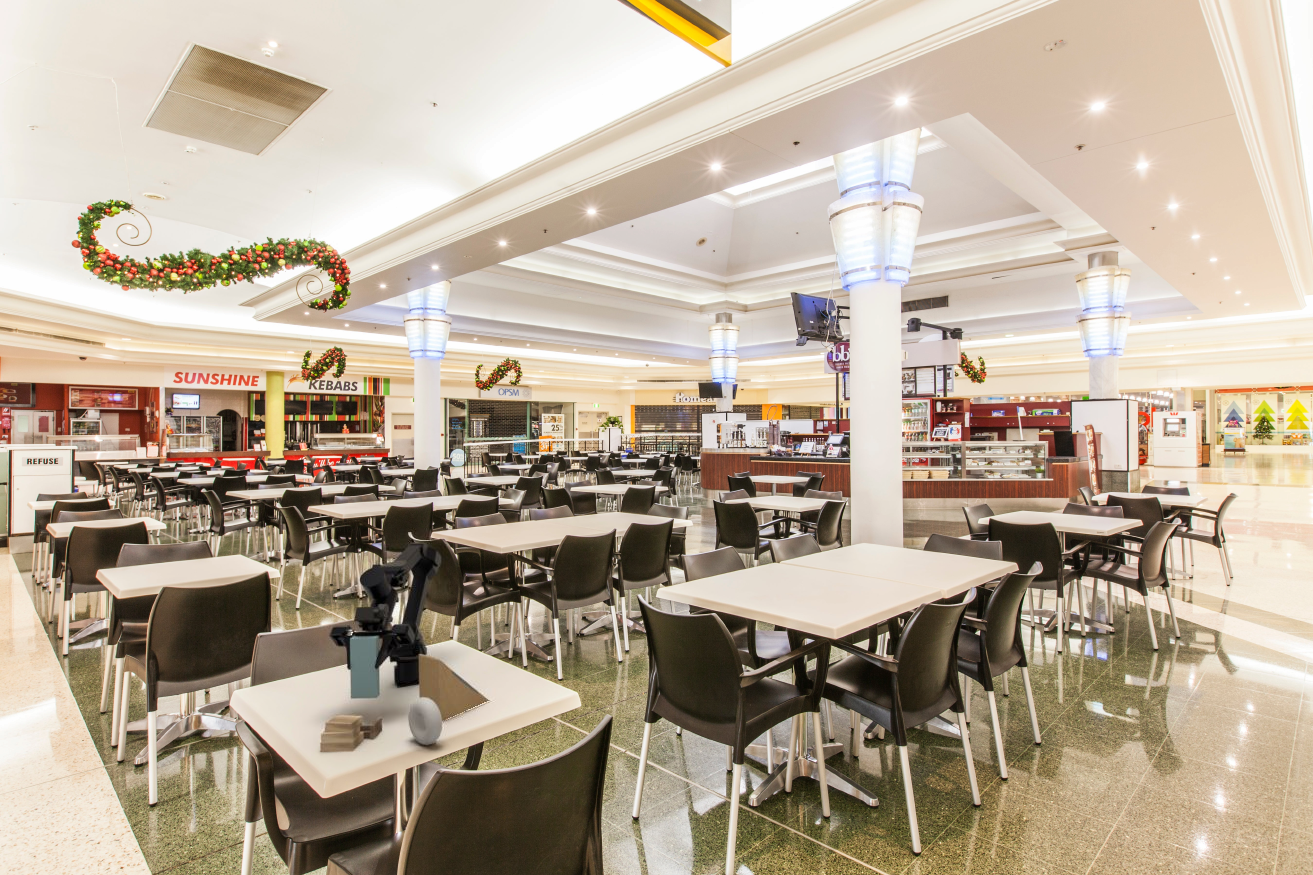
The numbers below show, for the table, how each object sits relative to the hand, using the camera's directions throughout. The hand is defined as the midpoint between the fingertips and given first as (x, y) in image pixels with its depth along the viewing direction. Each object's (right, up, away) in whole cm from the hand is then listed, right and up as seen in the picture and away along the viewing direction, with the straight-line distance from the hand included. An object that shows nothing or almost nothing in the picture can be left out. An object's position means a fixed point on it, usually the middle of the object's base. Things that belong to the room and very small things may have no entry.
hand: (362, 668), depth 148 cm
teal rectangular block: (0, -7, +1) cm, 7 cm away
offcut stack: (0, -14, -10) cm, 17 cm away
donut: (+18, -13, -10) cm, 24 cm away
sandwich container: (+19, -14, +10) cm, 25 cm away
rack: (0, -13, -5) cm, 14 cm away
